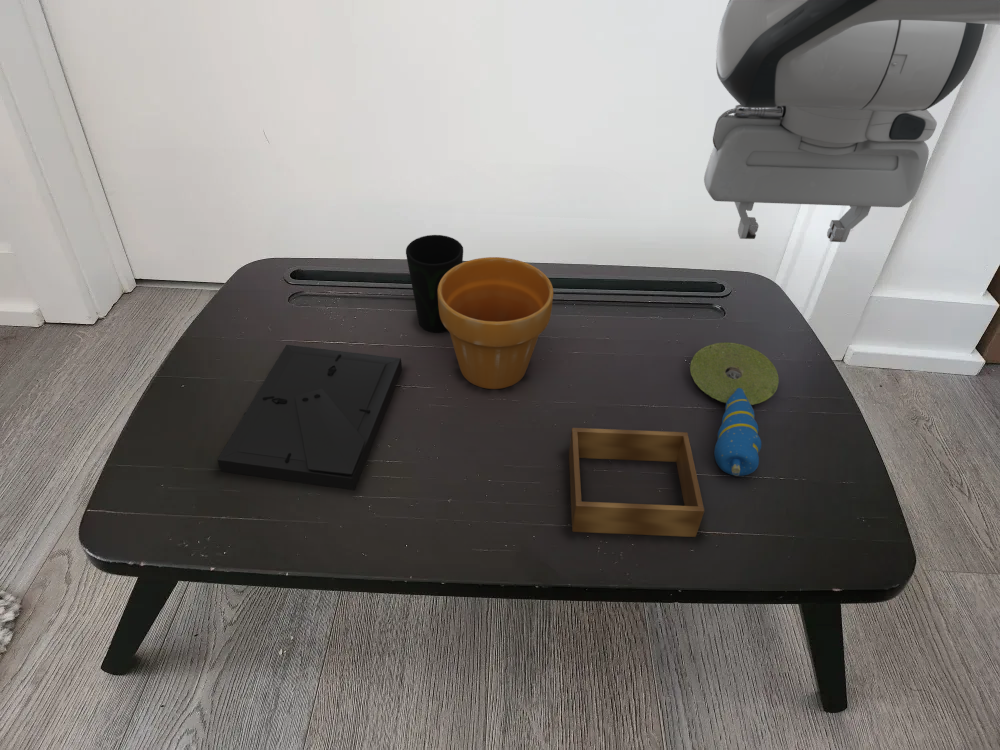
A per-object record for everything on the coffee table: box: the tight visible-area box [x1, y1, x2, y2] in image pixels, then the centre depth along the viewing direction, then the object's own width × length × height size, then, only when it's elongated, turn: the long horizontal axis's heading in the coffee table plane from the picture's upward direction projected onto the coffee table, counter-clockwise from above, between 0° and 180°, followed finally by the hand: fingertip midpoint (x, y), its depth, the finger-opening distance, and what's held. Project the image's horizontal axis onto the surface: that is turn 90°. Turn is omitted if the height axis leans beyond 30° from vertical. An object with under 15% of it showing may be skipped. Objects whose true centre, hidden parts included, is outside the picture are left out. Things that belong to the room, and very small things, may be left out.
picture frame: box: [217, 344, 403, 491], centre depth 88 cm, size 16×3×21 cm
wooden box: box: [568, 427, 705, 538], centre depth 80 cm, size 13×11×4 cm
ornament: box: [713, 388, 762, 477], centre depth 86 cm, size 5×5×15 cm
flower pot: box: [438, 256, 554, 390], centre depth 93 cm, size 14×14×13 cm
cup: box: [405, 234, 464, 334], centre depth 100 cm, size 8×8×12 cm
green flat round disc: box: [689, 341, 780, 406], centre depth 95 cm, size 11×11×2 cm
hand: (790, 237), depth 76 cm, fingers open, 8 cm apart
